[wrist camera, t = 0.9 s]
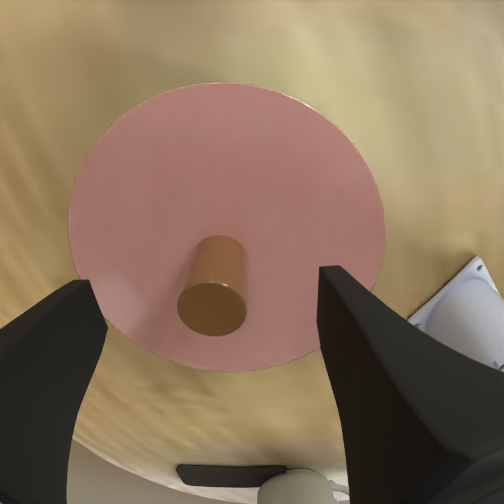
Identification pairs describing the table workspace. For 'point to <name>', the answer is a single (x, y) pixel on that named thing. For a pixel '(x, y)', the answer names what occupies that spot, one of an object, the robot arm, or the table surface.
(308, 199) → the pink knobbed disc
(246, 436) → the table surface
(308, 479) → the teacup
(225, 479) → the phone
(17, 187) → the table surface
